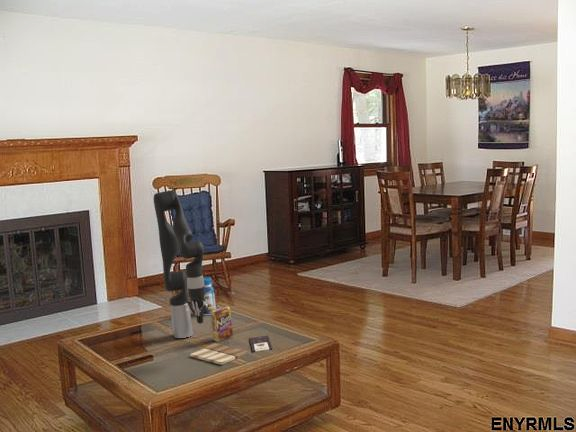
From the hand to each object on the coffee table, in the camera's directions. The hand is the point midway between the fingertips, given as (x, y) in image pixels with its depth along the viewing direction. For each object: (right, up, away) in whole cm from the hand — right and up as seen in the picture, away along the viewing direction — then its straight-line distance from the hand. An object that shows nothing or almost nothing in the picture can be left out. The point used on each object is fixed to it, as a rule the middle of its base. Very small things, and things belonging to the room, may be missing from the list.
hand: (200, 322), depth 265 cm
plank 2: (+10, -15, -5) cm, 19 cm away
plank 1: (+2, -15, +2) cm, 15 cm away
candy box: (+8, -12, +22) cm, 26 cm away
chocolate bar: (+27, -12, +10) cm, 31 cm away
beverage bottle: (-5, -7, +66) cm, 67 cm away
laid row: (+11, -14, +4) cm, 18 cm away
